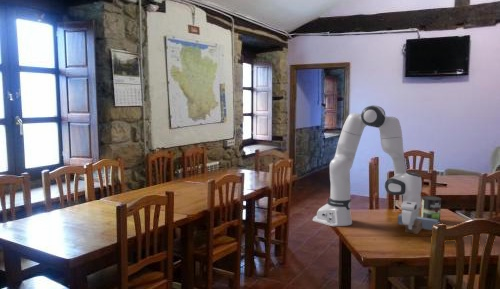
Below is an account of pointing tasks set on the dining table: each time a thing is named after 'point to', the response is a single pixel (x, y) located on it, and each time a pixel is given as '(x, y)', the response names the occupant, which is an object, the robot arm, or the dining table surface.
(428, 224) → the board
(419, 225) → the walnut block
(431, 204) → the coffee can
